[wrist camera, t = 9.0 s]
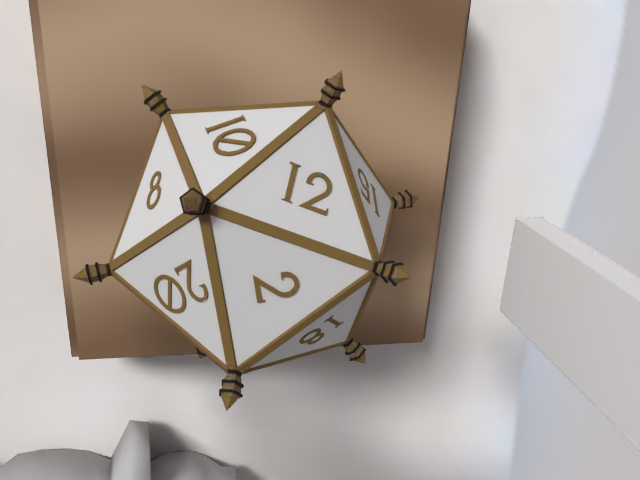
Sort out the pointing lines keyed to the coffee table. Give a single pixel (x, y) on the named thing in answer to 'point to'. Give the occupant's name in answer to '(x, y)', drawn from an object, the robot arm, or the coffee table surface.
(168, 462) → the grey teddy bear
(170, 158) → the game die
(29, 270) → the coffee table surface
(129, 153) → the plinth
